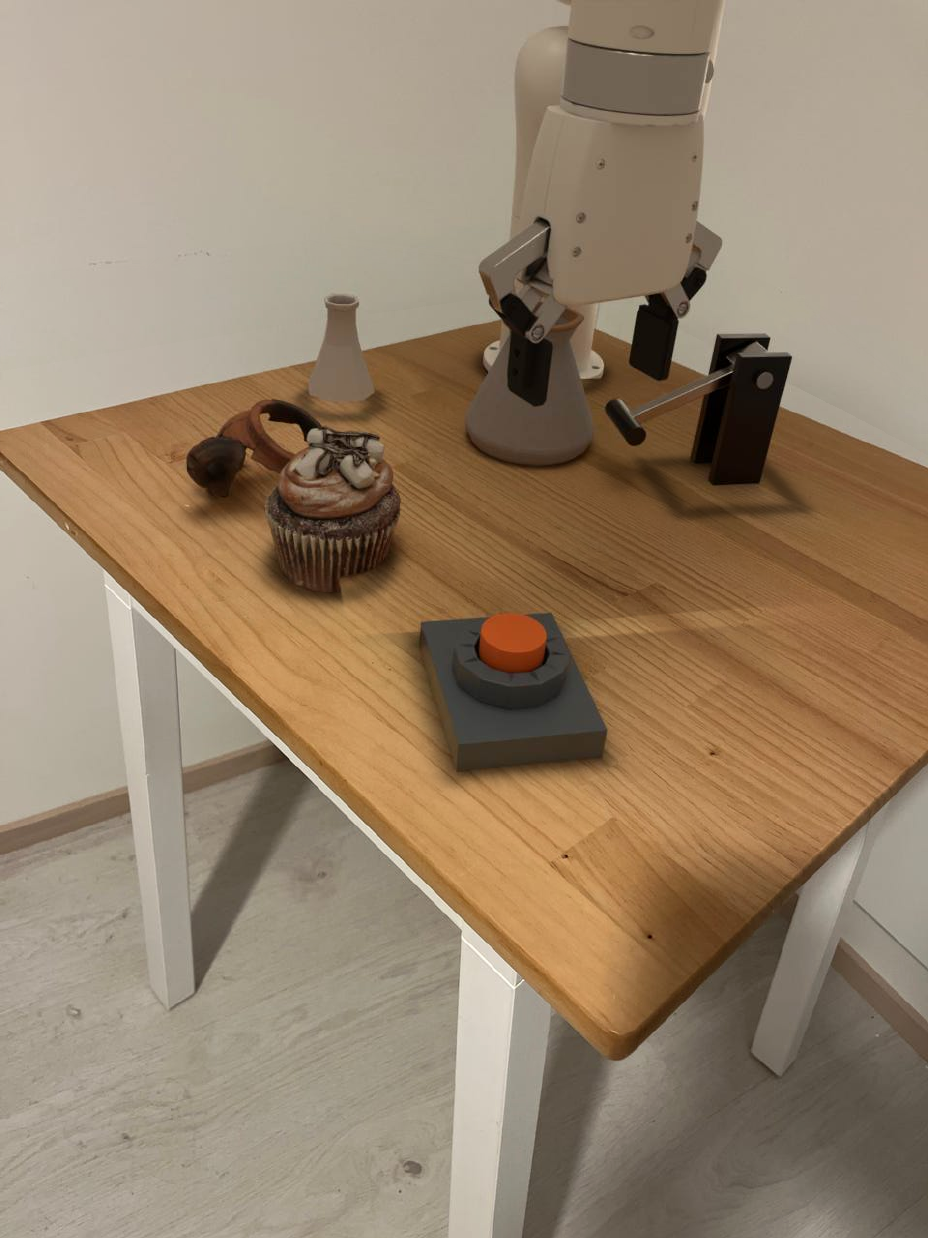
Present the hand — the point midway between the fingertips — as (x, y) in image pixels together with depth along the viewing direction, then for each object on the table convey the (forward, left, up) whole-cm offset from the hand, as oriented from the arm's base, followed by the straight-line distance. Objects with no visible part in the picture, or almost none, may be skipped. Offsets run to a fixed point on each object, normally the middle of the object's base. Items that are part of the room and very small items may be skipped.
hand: (588, 384), depth 67 cm
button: (+10, -6, -13) cm, 18 cm away
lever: (-16, +16, -9) cm, 24 cm away
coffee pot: (-28, +5, -17) cm, 34 cm away
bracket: (-16, +20, -17) cm, 31 cm away
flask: (-35, -11, -17) cm, 41 cm away
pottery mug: (-18, -20, -17) cm, 32 cm away
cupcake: (-7, -15, -17) cm, 24 cm away
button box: (+10, -6, -17) cm, 20 cm away
